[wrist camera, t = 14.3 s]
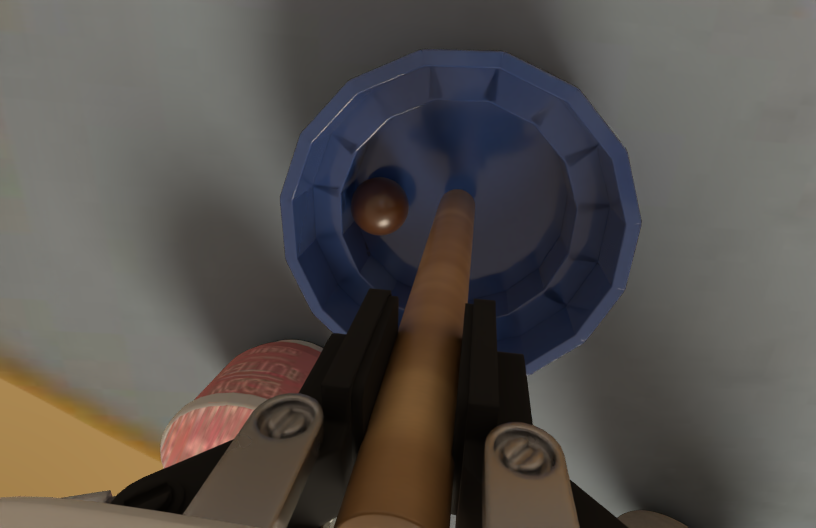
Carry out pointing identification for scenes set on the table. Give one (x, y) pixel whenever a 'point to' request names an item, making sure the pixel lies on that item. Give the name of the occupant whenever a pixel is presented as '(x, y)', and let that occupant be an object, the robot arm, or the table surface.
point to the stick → (418, 391)
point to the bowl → (479, 176)
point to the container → (237, 397)
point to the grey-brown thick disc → (649, 520)
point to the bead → (379, 206)
